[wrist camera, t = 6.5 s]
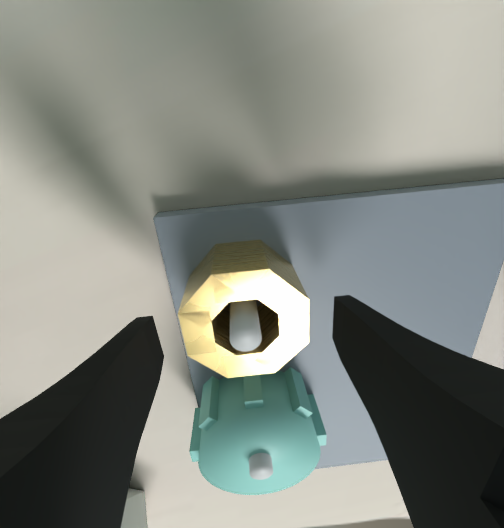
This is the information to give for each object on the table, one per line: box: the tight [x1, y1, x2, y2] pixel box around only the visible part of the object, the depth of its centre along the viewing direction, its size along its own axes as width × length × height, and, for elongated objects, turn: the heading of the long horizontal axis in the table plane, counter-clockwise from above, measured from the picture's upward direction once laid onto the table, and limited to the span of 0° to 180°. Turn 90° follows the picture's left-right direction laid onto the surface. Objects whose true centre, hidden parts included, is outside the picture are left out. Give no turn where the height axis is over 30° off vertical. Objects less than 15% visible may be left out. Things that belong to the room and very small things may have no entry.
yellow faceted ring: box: [178, 240, 309, 378], centre depth 12 cm, size 5×5×3 cm
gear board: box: [153, 178, 504, 495], centre depth 15 cm, size 17×20×5 cm
